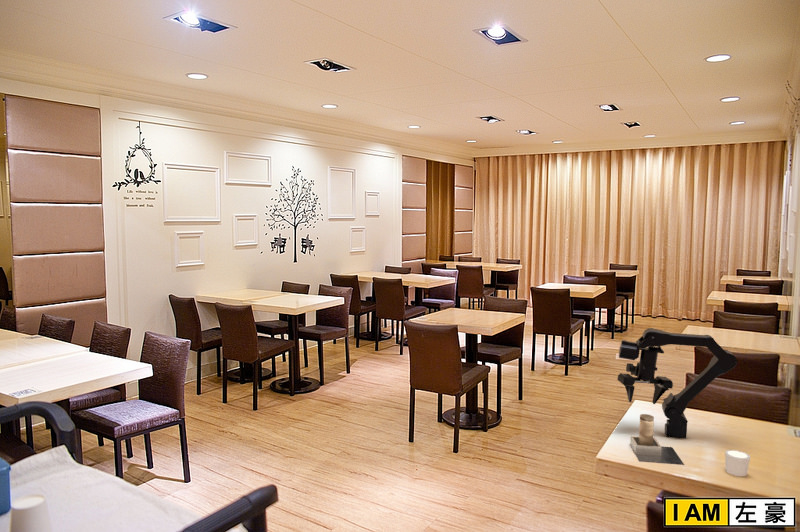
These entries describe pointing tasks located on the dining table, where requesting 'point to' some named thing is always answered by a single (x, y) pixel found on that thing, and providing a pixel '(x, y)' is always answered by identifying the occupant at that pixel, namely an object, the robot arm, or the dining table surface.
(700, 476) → the dining table surface
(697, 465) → the dining table surface
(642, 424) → the beige wooden block
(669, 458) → the dock plate
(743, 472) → the white cylinder
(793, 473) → the dining table surface
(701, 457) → the dining table surface
